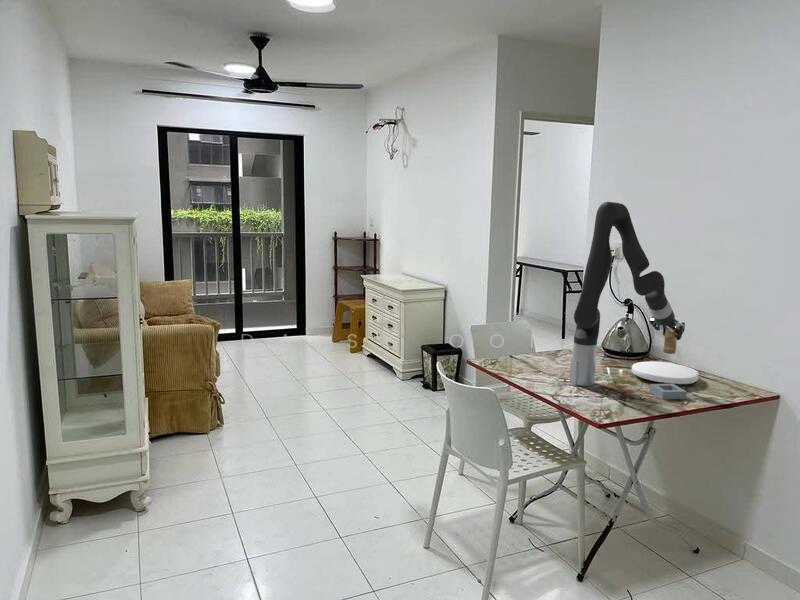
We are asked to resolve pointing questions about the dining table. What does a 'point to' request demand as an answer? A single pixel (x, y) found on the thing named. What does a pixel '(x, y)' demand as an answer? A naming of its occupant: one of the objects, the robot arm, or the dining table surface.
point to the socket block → (668, 391)
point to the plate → (665, 372)
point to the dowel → (670, 342)
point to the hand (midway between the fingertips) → (673, 337)
